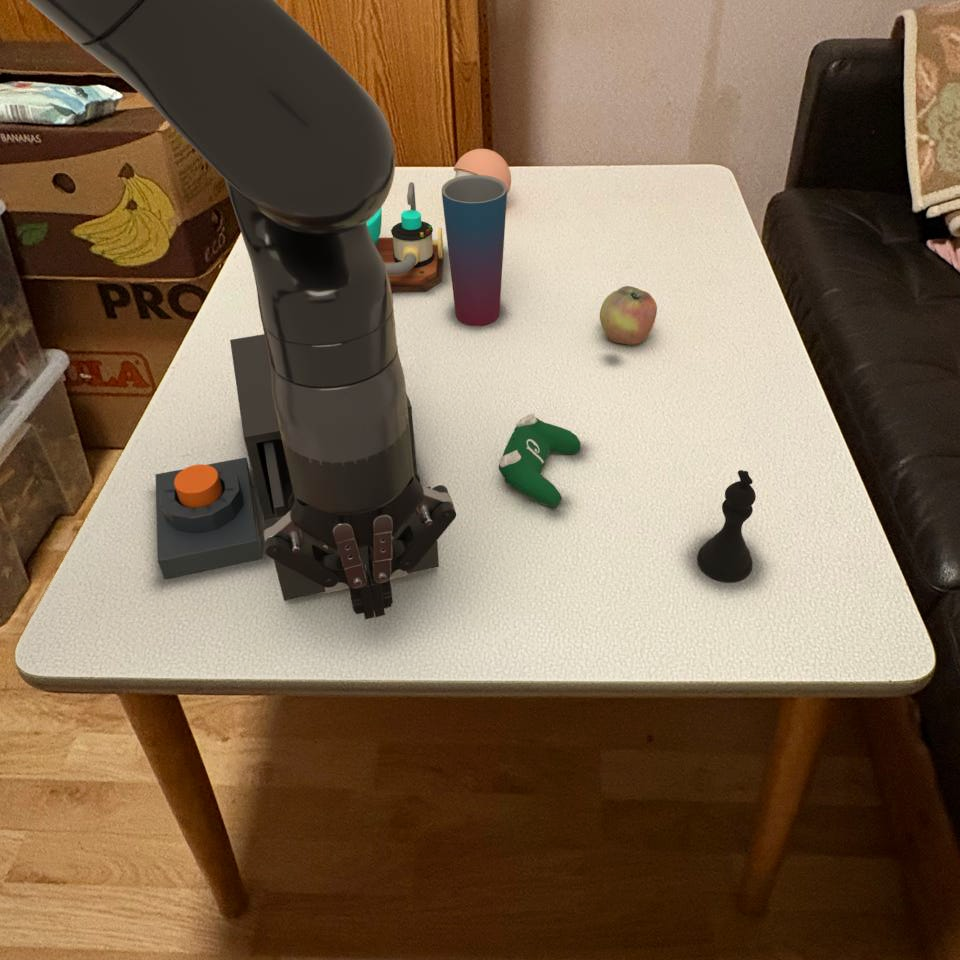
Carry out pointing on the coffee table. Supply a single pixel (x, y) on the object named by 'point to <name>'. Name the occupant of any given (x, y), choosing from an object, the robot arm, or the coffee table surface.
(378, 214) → the contraption on wooden base
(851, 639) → the coffee table surface
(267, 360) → the drawer cabinet
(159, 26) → the robot arm
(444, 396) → the coffee table surface
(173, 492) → the control block
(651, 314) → the apple
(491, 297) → the cup
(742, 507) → the chess piece
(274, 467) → the dark box with handle
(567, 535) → the coffee table surface
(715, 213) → the coffee table surface
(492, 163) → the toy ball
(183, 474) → the button
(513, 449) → the gaming controller
